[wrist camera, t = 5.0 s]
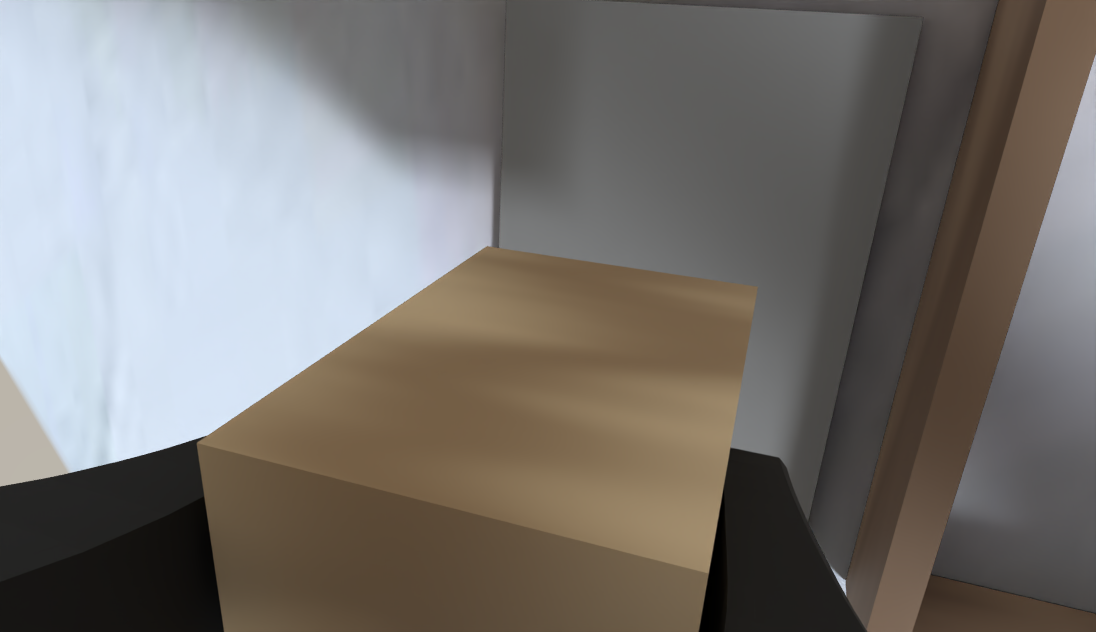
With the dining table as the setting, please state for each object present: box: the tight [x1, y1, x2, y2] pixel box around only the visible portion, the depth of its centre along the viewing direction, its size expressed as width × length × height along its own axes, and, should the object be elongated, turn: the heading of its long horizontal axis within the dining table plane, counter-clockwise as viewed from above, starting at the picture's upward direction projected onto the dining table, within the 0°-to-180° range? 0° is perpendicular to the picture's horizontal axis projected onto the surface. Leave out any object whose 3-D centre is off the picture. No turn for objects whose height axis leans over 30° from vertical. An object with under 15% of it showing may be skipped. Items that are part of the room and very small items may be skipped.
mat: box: [499, 0, 924, 521], centre depth 17 cm, size 8×12×1 cm, turn 176°
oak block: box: [197, 246, 758, 632], centre depth 9 cm, size 4×4×6 cm
